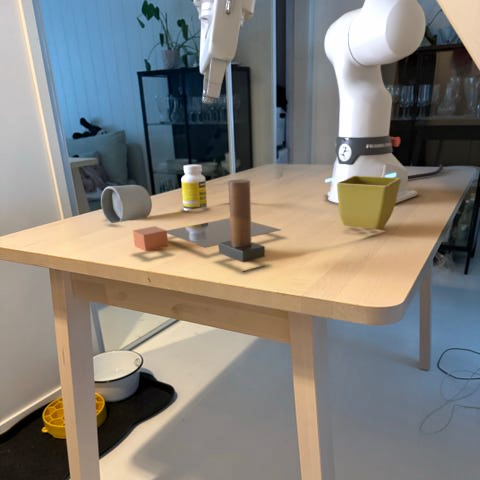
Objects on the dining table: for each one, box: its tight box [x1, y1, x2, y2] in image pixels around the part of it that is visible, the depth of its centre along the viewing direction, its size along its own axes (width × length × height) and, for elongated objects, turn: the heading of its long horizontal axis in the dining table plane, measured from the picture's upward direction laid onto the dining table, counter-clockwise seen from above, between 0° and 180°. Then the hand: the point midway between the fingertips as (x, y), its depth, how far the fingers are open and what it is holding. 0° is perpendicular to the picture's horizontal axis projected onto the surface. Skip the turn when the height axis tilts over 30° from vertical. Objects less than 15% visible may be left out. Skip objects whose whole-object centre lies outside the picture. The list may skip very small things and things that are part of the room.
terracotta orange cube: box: [132, 225, 169, 252], centre depth 74 cm, size 4×4×4 cm
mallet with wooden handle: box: [218, 179, 266, 273], centre depth 66 cm, size 4×6×12 cm, turn 37°
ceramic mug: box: [100, 184, 153, 224], centre depth 96 cm, size 11×8×8 cm
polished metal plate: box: [166, 217, 282, 249], centre depth 82 cm, size 16×14×2 cm
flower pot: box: [337, 176, 401, 231], centre depth 81 cm, size 9×9×9 cm
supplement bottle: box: [180, 163, 208, 211], centre depth 104 cm, size 5×5×10 cm
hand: (209, 100), depth 71 cm, fingers open, 8 cm apart
